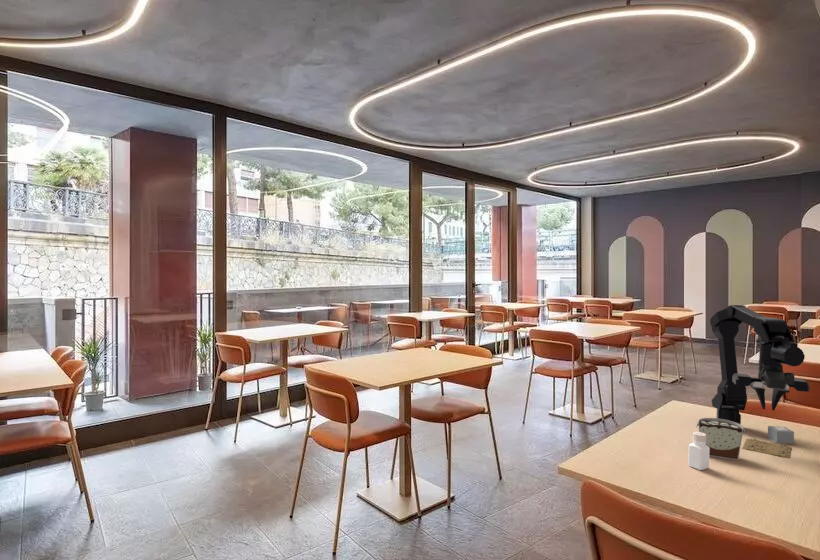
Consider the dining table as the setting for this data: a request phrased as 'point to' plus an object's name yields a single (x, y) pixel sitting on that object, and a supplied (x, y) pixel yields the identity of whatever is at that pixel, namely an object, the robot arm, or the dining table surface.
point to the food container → (722, 437)
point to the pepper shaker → (698, 452)
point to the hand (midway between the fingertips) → (768, 409)
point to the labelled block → (780, 434)
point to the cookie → (767, 448)
